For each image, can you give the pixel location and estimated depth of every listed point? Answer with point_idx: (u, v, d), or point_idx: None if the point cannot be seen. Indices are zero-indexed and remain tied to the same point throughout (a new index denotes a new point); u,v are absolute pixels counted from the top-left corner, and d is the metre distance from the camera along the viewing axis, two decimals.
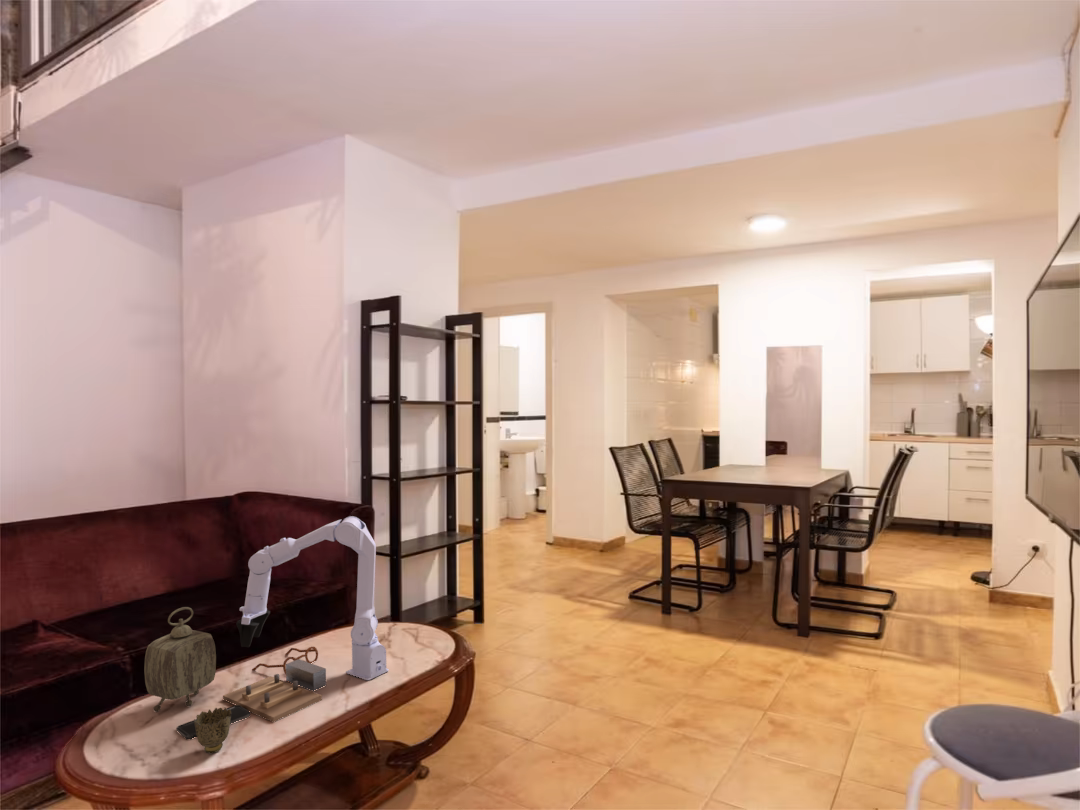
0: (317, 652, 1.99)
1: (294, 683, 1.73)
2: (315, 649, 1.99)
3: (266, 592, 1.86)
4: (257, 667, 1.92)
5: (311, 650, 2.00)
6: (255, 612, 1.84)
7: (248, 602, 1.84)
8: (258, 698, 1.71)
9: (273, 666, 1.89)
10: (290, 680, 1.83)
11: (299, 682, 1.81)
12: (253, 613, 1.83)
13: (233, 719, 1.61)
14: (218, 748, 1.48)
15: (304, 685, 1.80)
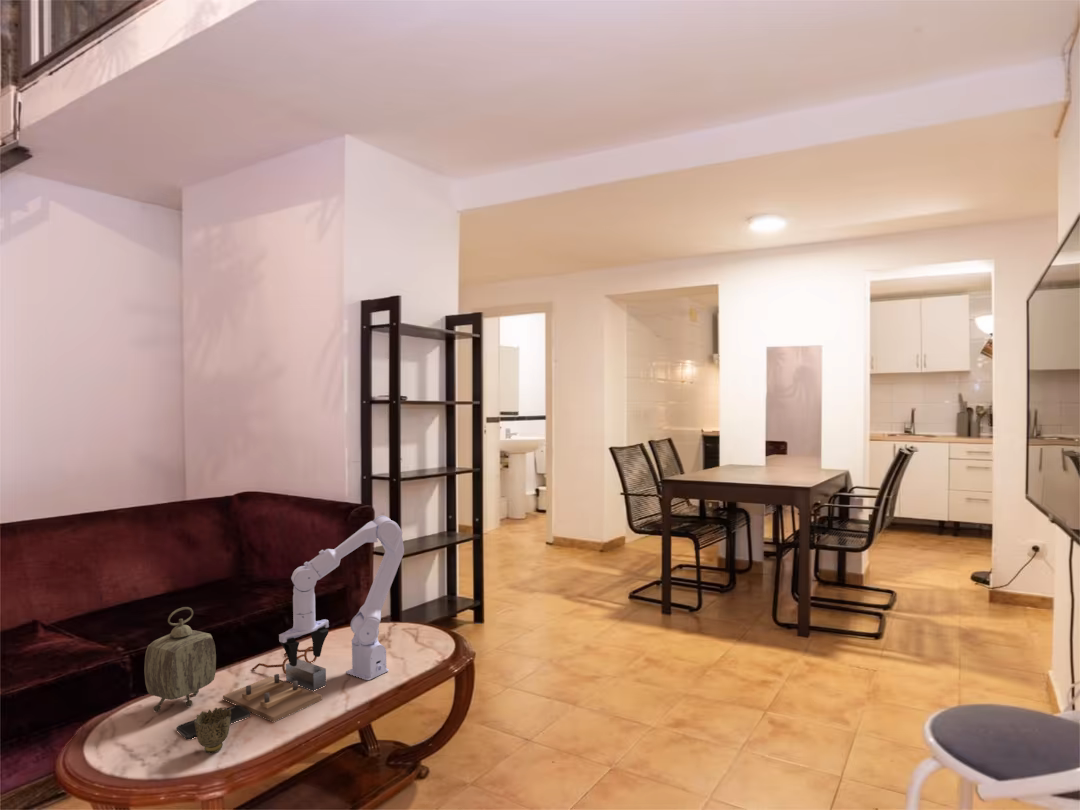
0: None
1: (294, 683, 1.73)
2: None
3: (314, 607, 1.83)
4: (256, 667, 1.92)
5: (310, 650, 2.00)
6: (298, 630, 1.80)
7: (293, 619, 1.81)
8: (258, 698, 1.71)
9: (272, 666, 1.89)
10: (290, 680, 1.83)
11: (299, 682, 1.81)
12: (296, 631, 1.80)
13: (233, 719, 1.61)
14: (218, 748, 1.48)
15: (304, 685, 1.80)
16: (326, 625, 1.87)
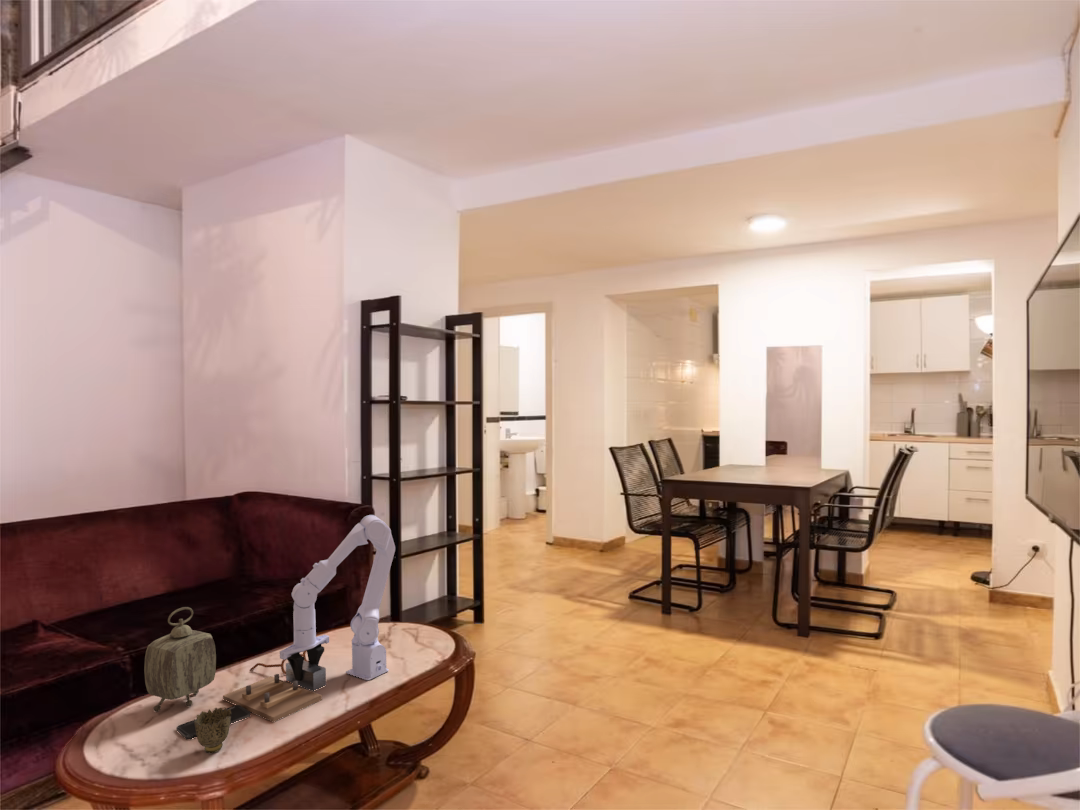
0: None
1: (294, 683, 1.73)
2: None
3: (315, 623, 1.83)
4: (255, 667, 1.92)
5: None
6: (298, 647, 1.80)
7: (294, 636, 1.81)
8: (258, 698, 1.71)
9: (271, 666, 1.90)
10: (290, 679, 1.83)
11: (299, 681, 1.81)
12: (297, 648, 1.80)
13: (233, 719, 1.61)
14: (218, 748, 1.48)
15: (304, 684, 1.80)
16: (326, 641, 1.87)
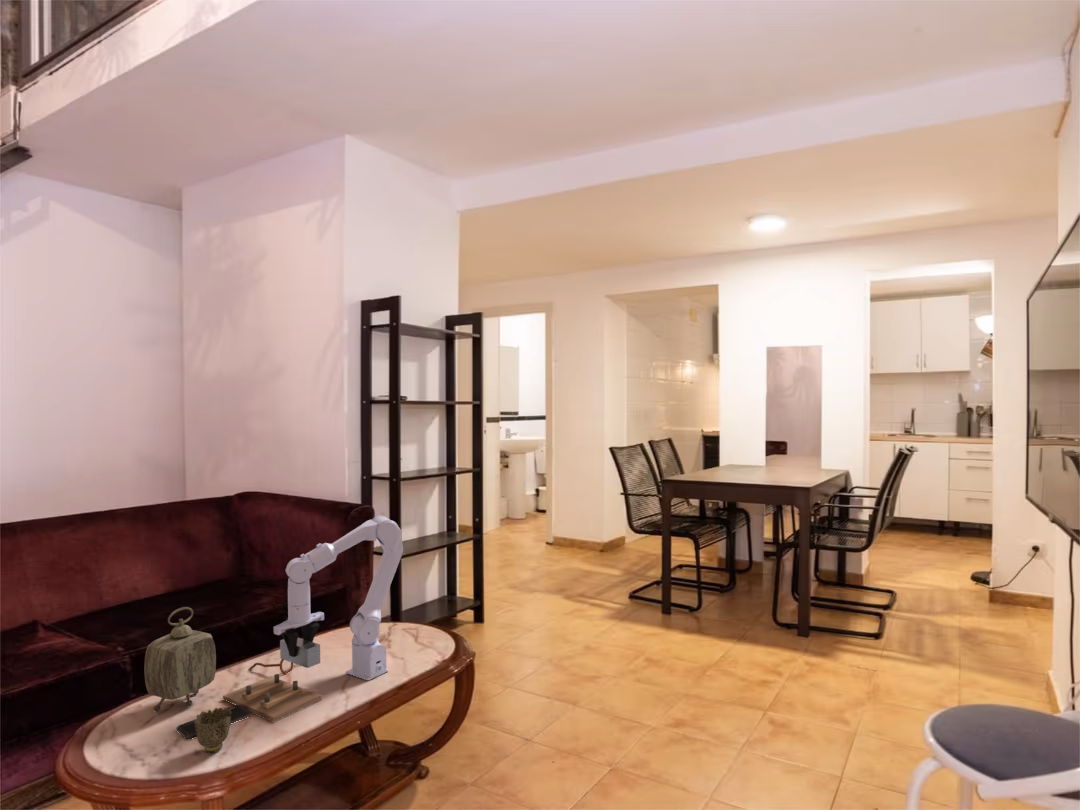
0: None
1: (294, 683, 1.73)
2: None
3: None
4: (254, 666, 1.93)
5: None
6: (293, 623, 1.78)
7: (288, 611, 1.79)
8: (258, 698, 1.71)
9: (270, 665, 1.90)
10: (284, 656, 1.82)
11: (293, 658, 1.79)
12: (291, 623, 1.78)
13: (233, 719, 1.61)
14: (218, 748, 1.48)
15: (298, 661, 1.78)
16: (321, 618, 1.86)
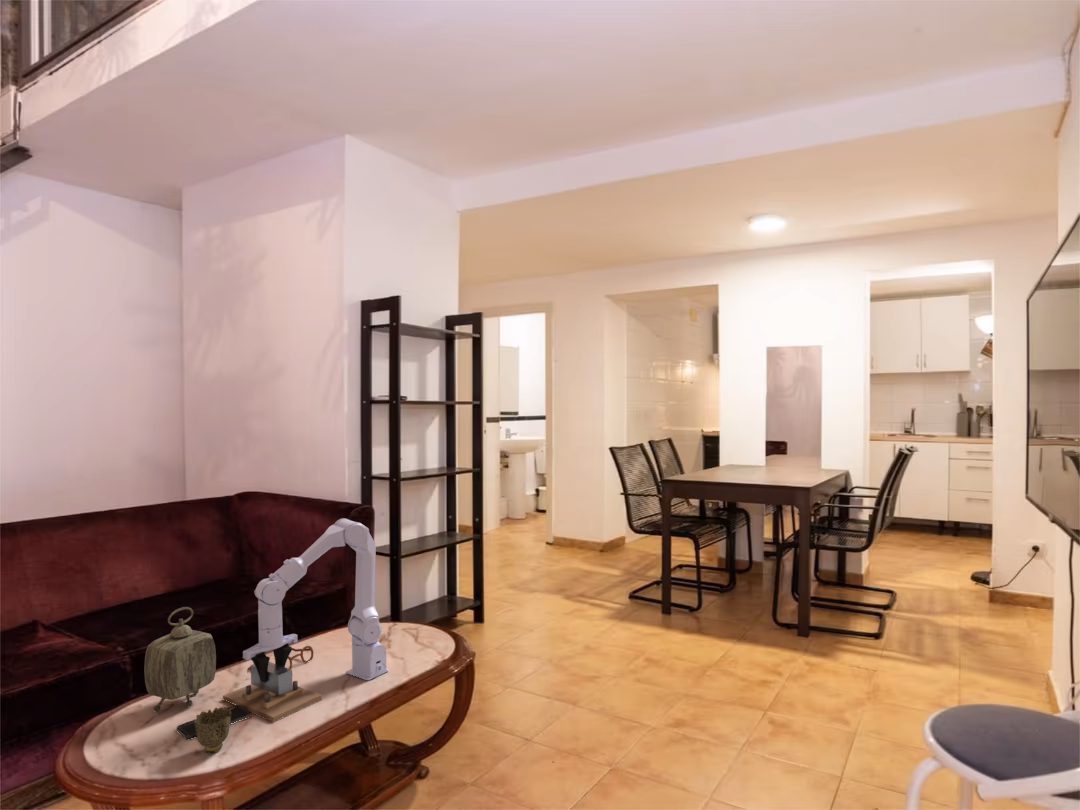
0: (312, 651, 2.00)
1: (294, 683, 1.73)
2: (310, 648, 1.99)
3: None
4: None
5: (306, 649, 2.00)
6: (263, 646, 1.70)
7: None
8: (258, 698, 1.71)
9: None
10: (255, 682, 1.74)
11: (264, 684, 1.71)
12: (261, 647, 1.70)
13: (233, 719, 1.61)
14: (218, 748, 1.48)
15: (269, 687, 1.70)
16: (294, 640, 1.78)
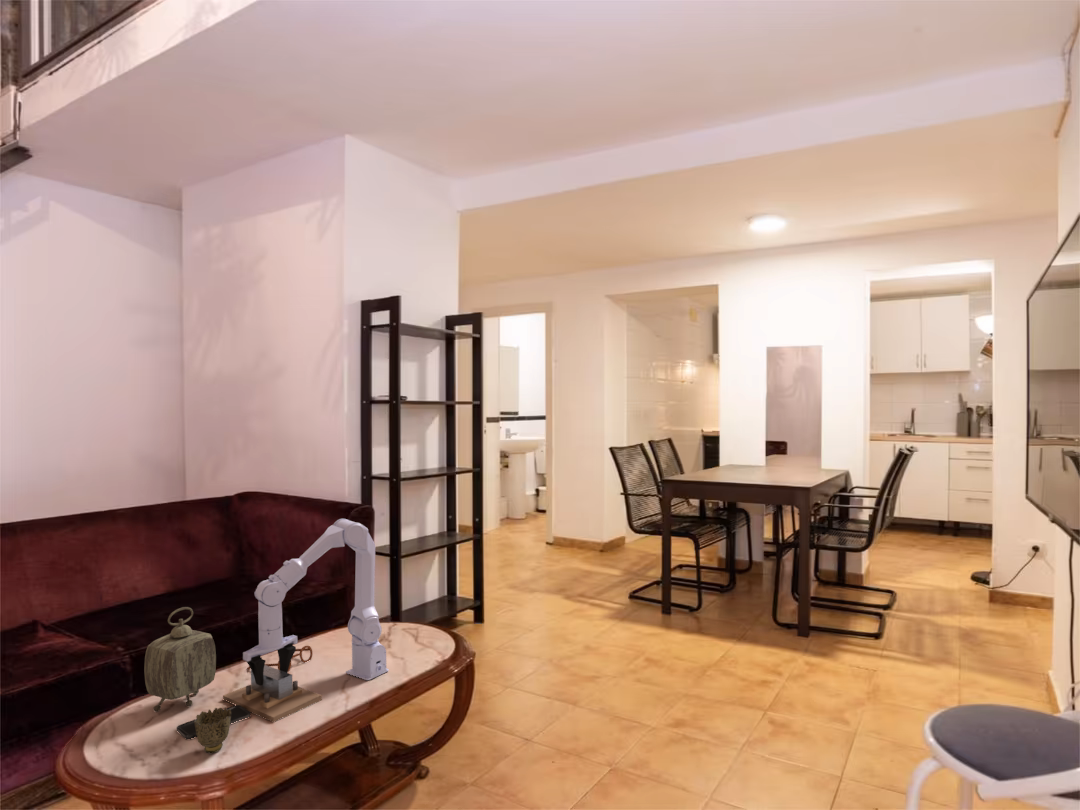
0: (311, 651, 2.00)
1: (294, 683, 1.73)
2: (309, 648, 2.00)
3: None
4: None
5: (305, 649, 2.00)
6: (263, 648, 1.70)
7: (259, 636, 1.71)
8: (258, 698, 1.71)
9: (268, 665, 1.90)
10: (255, 687, 1.74)
11: (264, 689, 1.71)
12: (261, 649, 1.70)
13: (233, 719, 1.61)
14: (218, 748, 1.48)
15: (269, 692, 1.70)
16: (295, 641, 1.78)
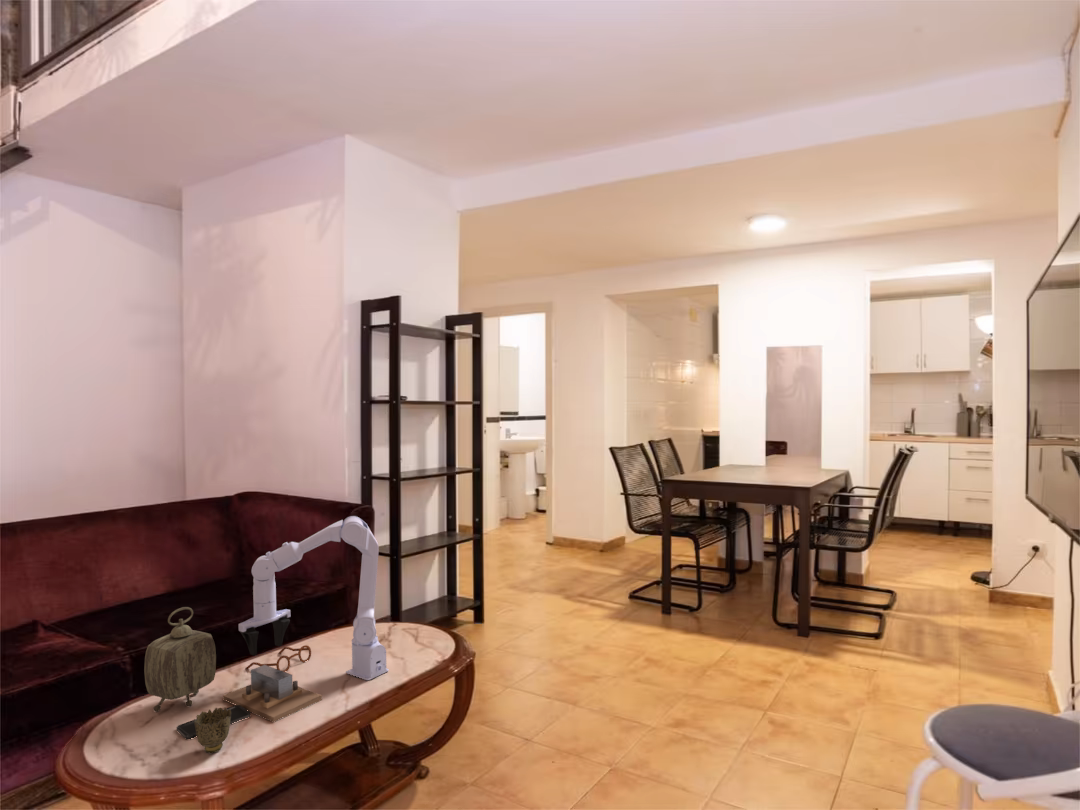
0: (310, 651, 2.00)
1: (294, 683, 1.73)
2: (308, 648, 2.00)
3: (274, 597, 1.82)
4: (250, 666, 1.93)
5: (304, 649, 2.01)
6: (258, 620, 1.80)
7: None
8: (258, 698, 1.71)
9: None
10: (255, 687, 1.74)
11: (264, 689, 1.71)
12: (256, 621, 1.80)
13: (233, 719, 1.61)
14: (218, 748, 1.48)
15: (269, 692, 1.70)
16: (288, 615, 1.87)
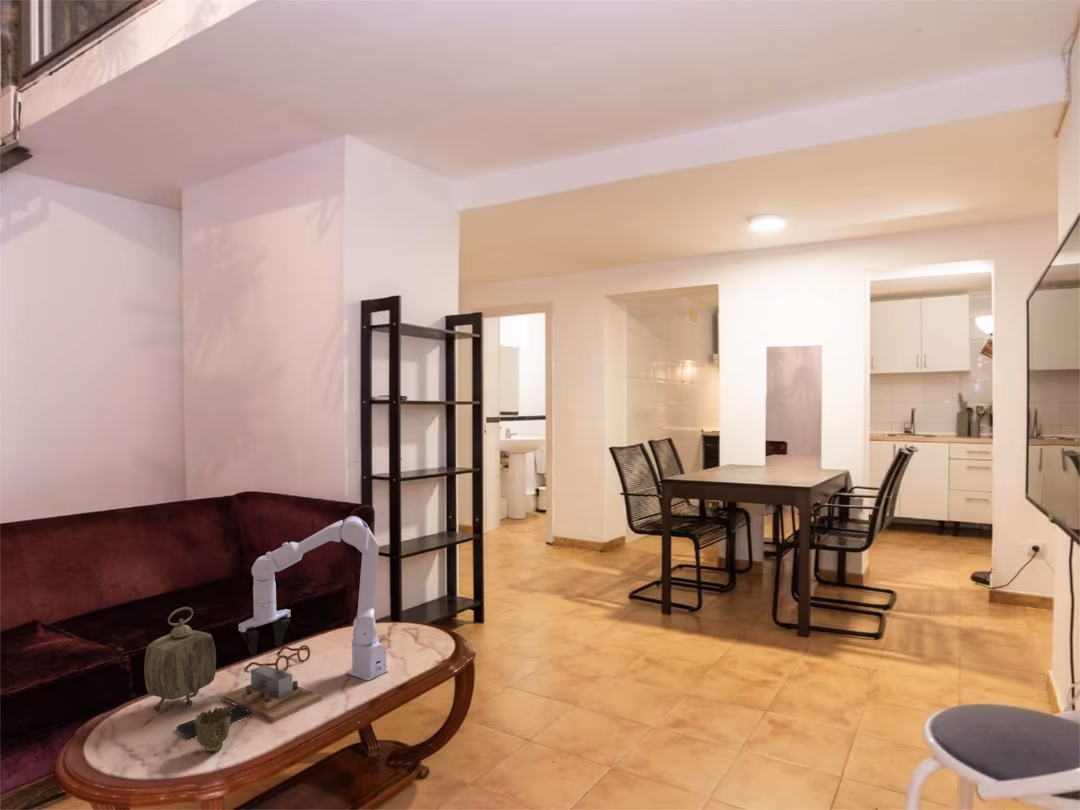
0: (309, 650, 2.00)
1: (294, 683, 1.73)
2: (307, 647, 2.00)
3: (274, 597, 1.82)
4: (249, 666, 1.93)
5: (303, 648, 2.01)
6: (258, 620, 1.80)
7: None
8: (258, 698, 1.71)
9: (265, 664, 1.90)
10: (255, 687, 1.74)
11: (264, 689, 1.71)
12: (256, 621, 1.80)
13: (233, 719, 1.61)
14: (218, 748, 1.48)
15: (269, 692, 1.70)
16: (288, 615, 1.87)
